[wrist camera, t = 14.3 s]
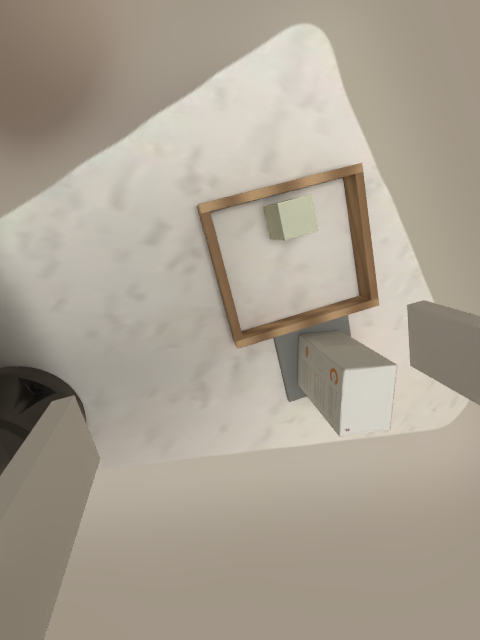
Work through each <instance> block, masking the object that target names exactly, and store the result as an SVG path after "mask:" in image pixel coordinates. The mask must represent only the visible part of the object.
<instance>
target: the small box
mask: <svg viewBox="0 0 480 640" xmlns="http://www.w3.org/2000/svg"><path fill="white" fill-rule="evenodd" d="M396 372H397V365H396V364H395V363H393V362H392V361H390V360H388V359H387V358H385V357H383V356H382V355H380V354H378V353H377V352H375V351H373V350H371V349H370V348H368V347H366V346H365V345H363V344H361V343H360V342H358V341H357V340H355V339H353V338H351V337H350V336H348V335H346V334H345V333H343V332H341V331H327V332H315V333H303V334H299V349H298V386H299V387H300V388H301V389H302V390H303V392H304V393H305V394H306V395H307V397H308V398H309V399H310V400H311V402H312V403H313V404H314V405H315V407H316V408H317V409H318V410H319V412H320V413H321V414H322V415H323V417H324V418H325V419H326V420H327V422H328V423H329V424H330V425H331V427H332V428H333V429H334V430H335V432H336V433H337V434H338V435H339V437H342V436H349V435H356V434H363V433H370V432H376V431H382V430H389V429H390V427H391V418H392V408H393V399H394V390H395V380H396Z"/></svg>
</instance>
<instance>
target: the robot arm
mask: <svg viewBox="0 0 480 640" xmlns="http://www.w3.org/2000/svg"><path fill="white" fill-rule="evenodd" d="M407 310H408V329H409V348H410V366H412V367H414V368H415V369H417V370H419V371H421V372H422V373H424V374H426V375H428V376H429V377H431V378H433V379H435V380H436V381H438V382H440V383H442V384H443V385H445V386H447V387H449V388H450V389H452V390H454V391H456V392H457V393H459V394H461V395H463V396H464V397H466V398H468V399H470V400H472V401H473V402H475V403H477V404H479V405H480V316H477V315H474V314H471V313H467V312H464V311H460V310H456V309H453V308H449V307H446V306H442V305H438V304H435V303H432V302H428V301H420V302H416V303H412V304H409V305H407ZM99 460H100V457H99V455H98V452H97V450H96V447H95V445H94V442H93V440H92V437H91V435H90V432H89V430H88V427H87V425H86V421H85V412H84V409H83V406H82V403H81V401H80V399H79V398H78V396H77V395H76V393H75V392H74V391H73V390H72V389H71V388H70V387H69V386H68V385H67V384H66V383H65V382H63V381H62V380H61V379H59V378H57V377H56V376H54V375H52V374H50V373H47V372H44V371H41V370H38V369H34V368H27V367H7V368H1V369H0V640H44V637H45V634H46V631H47V628H48V625H49V622H50V618H51V615H52V612H53V609H54V605H55V602H56V599H57V595H58V593H59V589H60V586H61V583H62V580H63V576H64V573H65V570H66V567H67V563H68V560H69V557H70V554H71V550H72V547H73V544H74V541H75V537H76V534H77V531H78V528H79V524H80V522H81V518H82V515H83V512H84V509H85V505H86V502H87V499H88V496H89V492H90V489H91V485H92V483H93V480H94V476H95V473H96V470H97V467H98V463H99Z"/></svg>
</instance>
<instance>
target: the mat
mask: <svg viewBox="0 0 480 640" xmlns="http://www.w3.org/2000/svg"><path fill="white" fill-rule="evenodd" d="M327 331H341V332H343V333H345V334H346V335H348V336H350V337H351V334H350V327H349V321H348V315H346V316H342V317H339V318H336V319H333V320H329V321H326V322H323V323H320V324H316V325H313V326H310V327H307V328H303V329H300V330H297V331H294V332H290V333H287V334H284V335H281V336H277V337H274V342H275V346H276V350H277V355H278V359H279V363H280V368H281V372H282V376H283V381H284V385H285V389H286V394H287V398H288V401H289V402H291V401H294V400H297V399H300V398H303V397H306V396H307V395H306V394H305V393H304V392H303V390H302V389H301V388H300V387H299V386H298V349H299V334H303V333H315V332H327Z"/></svg>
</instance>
